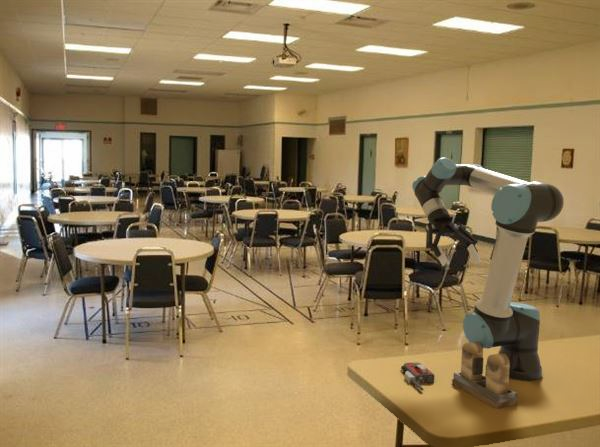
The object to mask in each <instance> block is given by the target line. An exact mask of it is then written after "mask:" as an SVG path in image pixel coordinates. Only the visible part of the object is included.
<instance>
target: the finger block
mask: <svg viewBox="0 0 600 447" xmlns="http://www.w3.org/2000/svg"><path fill="white" fill-rule="evenodd" d="M460 361H461V364H460V365H461V366H460V372H461V375H462V376H463V377H465V378H467V379H469V380H471V381H479V380H482V375H484V374H483V373H484V348H482V346H481V344H480V343H479V342H471V343H470V342H465V343H464V344H463V345H462V347H461V360H460Z"/></svg>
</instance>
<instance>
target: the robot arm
mask: <svg viewBox="0 0 600 447" xmlns="http://www.w3.org/2000/svg"><path fill="white" fill-rule="evenodd" d="M411 186H412V190H413V192H414V196H415V197H416V199H417V200H418V204H420V207H421V209H422V211H423V213H424V215H425V216H426V219H427V221H428V223H427V224H426V225H425V228H424V229H425V232H426V235H425V236H426V237H425V239H426V240H425V248H426V249H427V250H430V252H433V253H434V255H435V257H436V258H438V260H439V263H440V264H441V267H445V266H446V265H447V263H448V262H449V261H448V259H447V257H446V254H445V253H444V251H443V248H442V247H441V245H439V243H440V239H441V237H451V238H452V239H453V238H454V239H455V240H456V241H459V242H460V243H462V244H463V245H464V246H466V247H467V251H468V253H469V255H470V257H471V259H472V261H473V263H474V264H475V265H478V263H479V262H480V261H481V260H482V258H481V257H480V255H479V253H478V252H479V251H478V249H477V246H476V245H477V243H478V241H479V240H477V239H476V237H475V236H473V234H471V233H470V232H469V231H468V230H467V229H466V228H465V227H464V226H463V225H462V223H461V222H459V221H457V222H456V223H453V222H452V217H451V215H450V213H449V211H448V209H447V207H446V205H445V204H444V201H443V200H442V198H441V196H440V193H441V192H442V191H443V189H444V188H445V187H446V186H467V187H470V188H473V189H476V190H479V191H482V192H484V193H488V194H491V195H493V198H492V200H491V207H490V208H491V211H492V213H491V214H492V217H493V218H494V220H495V224H494V225H495V226H496V228H497V229H498V231H497V236H496V239H495V240H496V241H495V244H494V248H493V252H492V256H491V260H490V264H489V268H488V272H487V276H486V280H485V285H484V288H483V292H482V297H481V298H480V299H478V300H476V301H475V304H474V307H473V311H470V312H469V313H468V312H467V313H466V314H465V315H464V317H463V320H462V330H463V333H464V335H465V338H466V339H467V342H468V343H471V342H479V343H480V344H481V346H482V348H483V349H492V348H496V347H500V348H499V351H498V353H497V354H500V353H504V354H506V355H507V357H508V358H509V362H510V368H509V379H513V380H519V381H535V380H539V379H540V378H541V377H542V376H543V367H542V365H541V360H540V356H539V351H538V350H539V338H540V327H541V326H540V325H541V324H540V323H541V313H540V310H539V309H538V308H537V307H535V306H533V305H530V304H525V303H522V302H514V301H513V302H512V299H513V295H514V291H515V288H516V287H515V286H516V283H517V279H518V276H519V272H520V268H521V264H522V262H523V257H524V254H525V250H526V246H527V243H528V240H529V239H528V238H529V236H532V235H533V234H535V232H536V229H537V226H538V223H543V222H545V223H547V222H549V221H552V220H554V219H556V218H557V217H558V216H559V215H560V214H561V212H562V211H563V208H564V203H565V202H564V201H565V200H564V196H563V194H562V192H561V190H560V189H559V188H558V187H557V186H554V185H552V184H549V183H546V182H542V181H541V182H540V181H538V180H537V181H535V180H534V181H532V182H530V181H526V180H523V179H519V178H516V177H512V176H510V175H506V174H503V173H499V172H496V171H493V170H489V169H486V168H484V167H483V165H480V164H476V163H475V164H474V163H470V164H469V163H468V164H461V163H460V164H457V163H455V162H454V161H453V159H450V158H447V157H440V158H438V159H437V160H436V162H434V163H433V165H432V166H431V168H430V169H429V171H428V172H427V174H426V175H421V176H419V177H417V179H415V180H413V182H412V185H411ZM434 232H435V235H434V236H433V234H434ZM433 239H434V240H433Z"/></svg>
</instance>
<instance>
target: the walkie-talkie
mask: <svg viewBox="0 0 600 447" xmlns="http://www.w3.org/2000/svg"><path fill="white" fill-rule="evenodd" d="M400 369H401V370H402V371H404V372H405V373H404V372H403V373H404V380H405V381H407V382H408V384H413V385H414V386H416V388H418V389H419V390H420V391H424V388H423V386H421V384H423V383H424V384H425V383H426V384H427V383H429V384H431V383H434V382H435V374H434V373H433V372H432V371H431V370H430V369H428V368H427V367H426V366H425V365H423V364H422V363H421V362H418V361H416V362H415V361H414V362H405V363H403V365H401V367H400Z"/></svg>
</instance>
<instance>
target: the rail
mask: <svg viewBox="0 0 600 447" xmlns="http://www.w3.org/2000/svg"><path fill="white" fill-rule="evenodd" d="M486 358H487V359H486V364H485V376H484V374H482V380H479V381H471V380H469V379H467V378H465V377H463V376H462V375H461V371H458V372H457V371H456V372H453V378H452V379H451V382H452V385H454V386H456V387H457V388H459V389H461V391H462V390H463V391H465V392H466V393H468V394H469V395H471V396H473V397H475V398H477V399H478V400H480V401H482V402H484V403H486V404H487V405H489V406H491V407H493V408H495V409H499V408H506V407H511V406H516V405H518V404H519V403H518V402H519V399H518V392H517V391H514V390H512V389H510V388H509V384H510V383H509V382H510V378H509V368H510V362H509V358H508V357H507V355H506V354H504V353H500V354H498V353H494V354H490V355H488V356H487V357H486Z"/></svg>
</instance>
